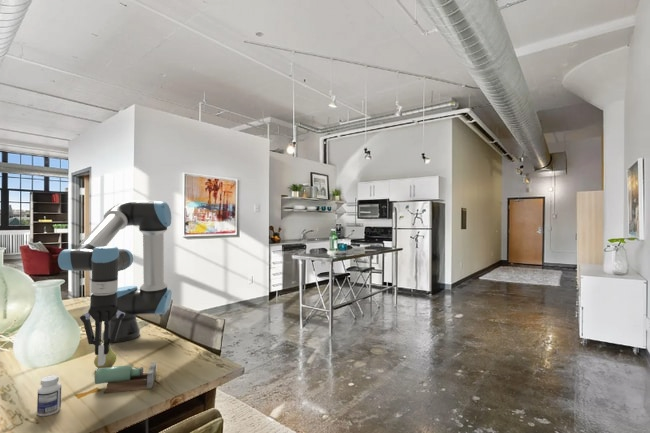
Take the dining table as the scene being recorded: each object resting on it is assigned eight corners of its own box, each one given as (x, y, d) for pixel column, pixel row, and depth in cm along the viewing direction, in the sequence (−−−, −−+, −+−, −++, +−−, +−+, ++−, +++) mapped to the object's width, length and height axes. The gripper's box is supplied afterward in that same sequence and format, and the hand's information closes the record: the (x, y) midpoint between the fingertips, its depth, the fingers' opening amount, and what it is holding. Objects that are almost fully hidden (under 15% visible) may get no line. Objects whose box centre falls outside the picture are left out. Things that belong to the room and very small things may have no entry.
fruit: (111, 372, 127) (112, 339, 127) (88, 372, 126) (89, 339, 126) (119, 364, 133) (120, 333, 133) (97, 365, 132) (98, 333, 132)
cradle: (111, 380, 120) (111, 366, 120) (155, 376, 125) (156, 362, 125) (103, 393, 112) (104, 377, 112) (151, 388, 116) (152, 373, 116)
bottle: (99, 366, 118) (144, 362, 122) (98, 381, 117) (143, 377, 121) (95, 370, 113) (141, 365, 117) (94, 386, 112) (140, 380, 117)
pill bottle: (45, 406, 103) (46, 373, 103) (64, 406, 104) (66, 373, 104) (32, 417, 98) (33, 382, 98) (52, 416, 98) (53, 382, 98)
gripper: (77, 296, 110) (74, 370, 110) (123, 294, 114) (121, 366, 114) (85, 291, 117) (82, 361, 117) (128, 290, 121) (126, 357, 121)
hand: (101, 363), depth 115 cm, fingers closed
